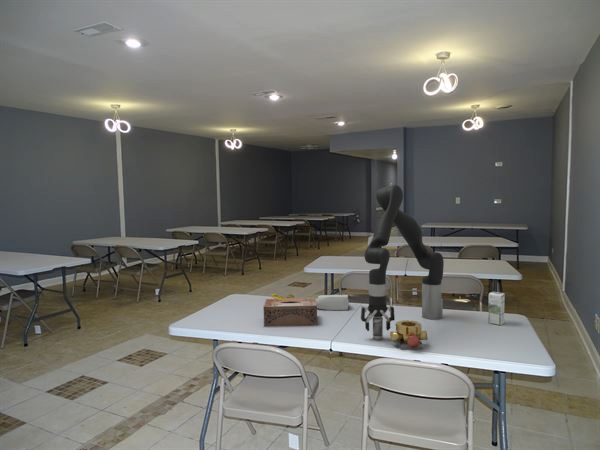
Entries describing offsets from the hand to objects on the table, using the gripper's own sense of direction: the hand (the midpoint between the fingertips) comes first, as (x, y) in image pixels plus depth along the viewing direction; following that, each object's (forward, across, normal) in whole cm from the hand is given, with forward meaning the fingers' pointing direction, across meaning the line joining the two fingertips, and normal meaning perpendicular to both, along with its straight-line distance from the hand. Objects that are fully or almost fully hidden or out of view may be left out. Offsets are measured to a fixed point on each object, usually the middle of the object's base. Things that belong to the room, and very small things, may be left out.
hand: (377, 330), depth 179 cm
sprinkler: (+4, +44, -58) cm, 73 cm away
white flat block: (+4, +17, -56) cm, 59 cm away
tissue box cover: (+4, +38, -27) cm, 47 cm away
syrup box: (+4, -60, -16) cm, 62 cm away
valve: (+4, -11, +10) cm, 15 cm away
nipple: (+4, 0, 0) cm, 4 cm away
